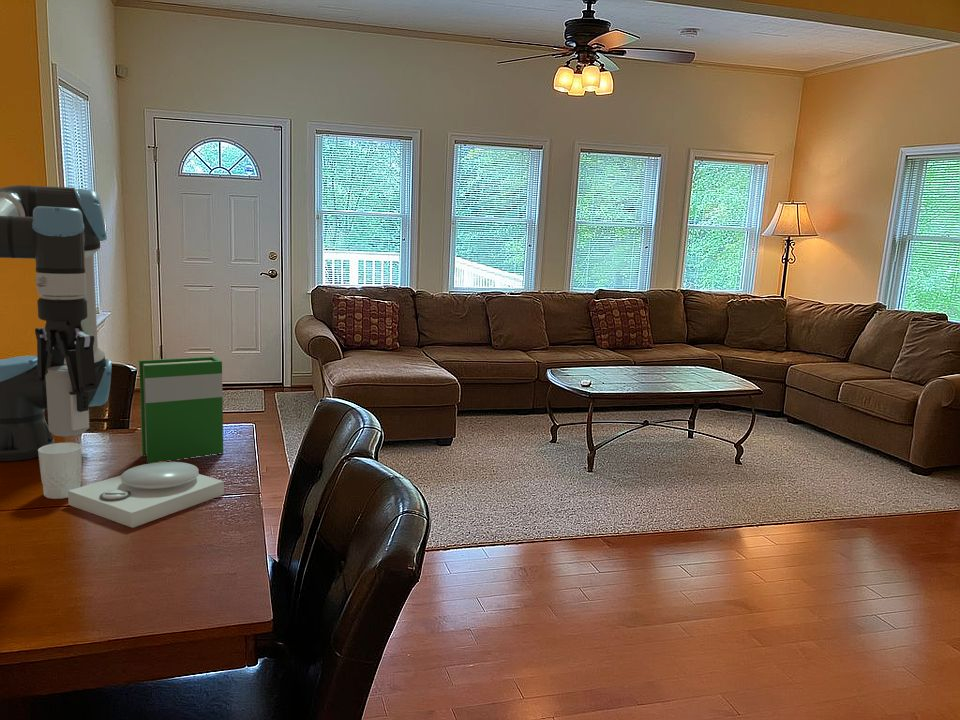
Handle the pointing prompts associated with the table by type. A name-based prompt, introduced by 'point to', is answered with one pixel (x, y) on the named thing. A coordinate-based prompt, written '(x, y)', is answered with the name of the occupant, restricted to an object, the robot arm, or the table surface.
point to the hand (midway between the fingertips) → (68, 424)
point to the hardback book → (181, 408)
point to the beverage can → (60, 402)
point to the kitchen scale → (146, 493)
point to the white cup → (60, 468)
